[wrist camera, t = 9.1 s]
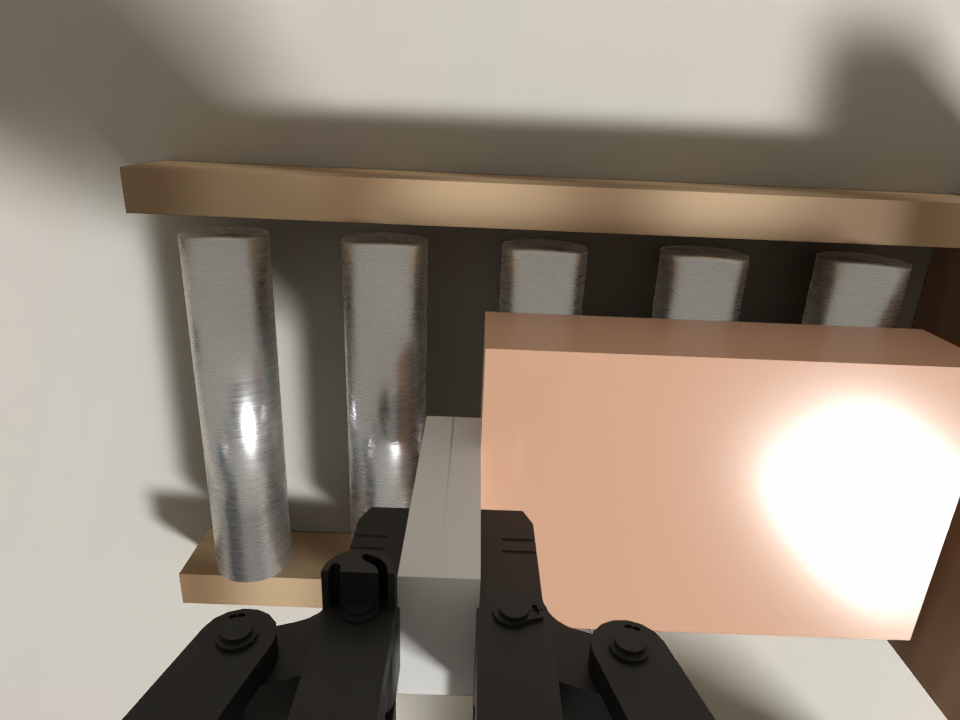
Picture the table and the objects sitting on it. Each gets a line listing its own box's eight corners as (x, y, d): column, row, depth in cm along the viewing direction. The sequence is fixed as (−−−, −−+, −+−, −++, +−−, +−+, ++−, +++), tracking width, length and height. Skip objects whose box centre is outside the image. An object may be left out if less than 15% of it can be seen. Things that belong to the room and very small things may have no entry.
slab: (474, 555, 21) (472, 624, 18) (485, 311, 18) (485, 348, 15) (853, 569, 21) (909, 640, 18) (922, 329, 18) (1002, 369, 15)
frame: (212, 554, 25) (116, 711, 19) (163, 160, 20) (8, 184, 13) (902, 581, 25) (1048, 745, 19) (1028, 197, 20) (1288, 238, 14)
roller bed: (803, 557, 24) (836, 605, 21) (232, 536, 23) (205, 581, 21) (881, 253, 20) (932, 271, 18) (198, 224, 20) (161, 239, 17)
